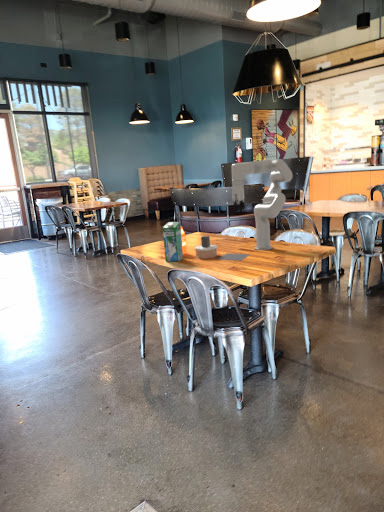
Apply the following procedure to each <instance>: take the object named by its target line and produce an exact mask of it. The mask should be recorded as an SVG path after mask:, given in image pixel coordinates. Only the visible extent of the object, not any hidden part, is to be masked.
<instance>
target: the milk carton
mask: <svg viewBox="0 0 384 512" xmlns="http://www.w3.org/2000/svg"><path fill="white" fill-rule="evenodd" d="M181 226H182V224H181V221H168V222H167V223H166V224H165V225H164V226H162V235H163V245H164V247H163V248H164V258H165V262H176V261H178V262H180V261H181V260H183V259H184V254H183V249H182V236H181Z"/></svg>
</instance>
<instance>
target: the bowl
mask: <svg viewBox="0 0 384 512" xmlns="http://www.w3.org/2000/svg"><path fill="white" fill-rule="evenodd" d="M217 250H218V249H214V250H208V251H199V250H195V257H197V258H196V259H204V260H205V259H206V260H207V259H213V258H215V257H217V255H218V253H217Z"/></svg>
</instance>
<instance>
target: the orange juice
mask: <svg viewBox="0 0 384 512" xmlns="http://www.w3.org/2000/svg"><path fill="white" fill-rule="evenodd" d="M181 236H182V249H183V255H184V254H187V244H186V233H185V229H183V226H182V225H181Z"/></svg>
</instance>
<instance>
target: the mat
mask: <svg viewBox="0 0 384 512" xmlns="http://www.w3.org/2000/svg"><path fill="white" fill-rule="evenodd" d="M249 256H252V255H251V254H249V253H245V254H244V253H229V252H228V253H227V252H226V253H225V254H223V255H221V256H219V257H218V258H217V260H223V261H224V260H225V261H240V262H241V261H243V260H244V259H246V258H248V257H249Z"/></svg>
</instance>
